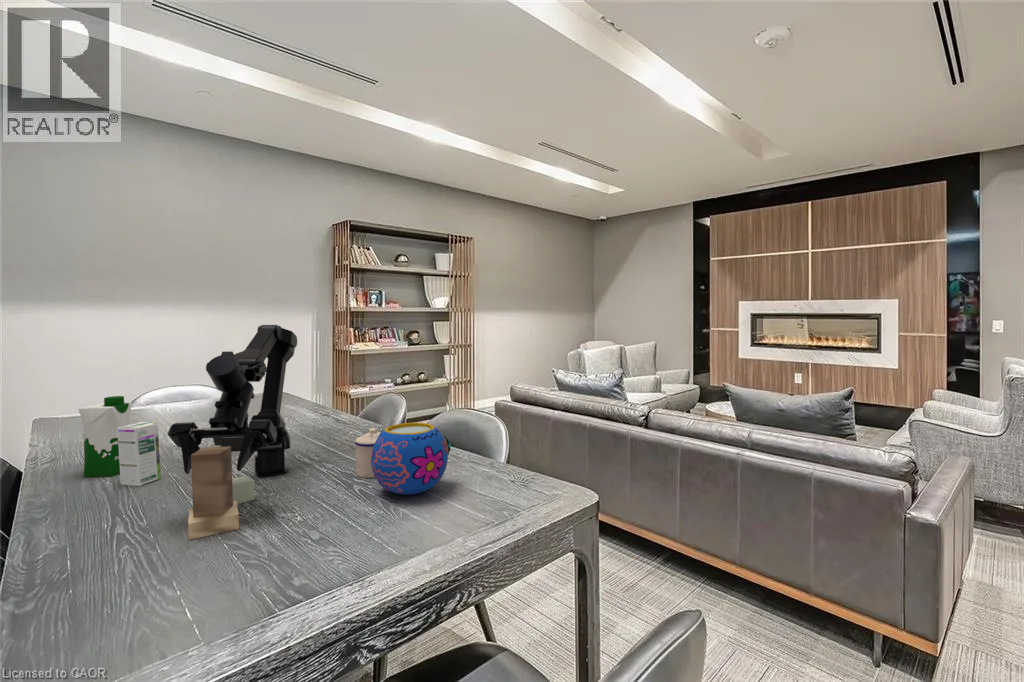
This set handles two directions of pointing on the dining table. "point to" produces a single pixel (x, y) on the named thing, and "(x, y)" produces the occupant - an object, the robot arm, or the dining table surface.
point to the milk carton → (103, 435)
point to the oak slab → (213, 523)
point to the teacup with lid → (365, 453)
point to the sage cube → (243, 489)
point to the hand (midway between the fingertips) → (212, 471)
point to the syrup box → (139, 453)
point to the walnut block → (212, 481)
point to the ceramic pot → (410, 457)
